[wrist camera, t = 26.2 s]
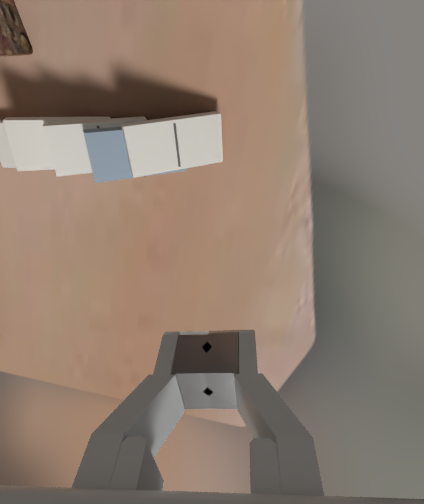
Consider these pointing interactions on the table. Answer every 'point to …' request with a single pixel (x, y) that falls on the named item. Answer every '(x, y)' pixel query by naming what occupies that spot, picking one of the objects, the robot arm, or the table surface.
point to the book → (12, 31)
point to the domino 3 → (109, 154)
